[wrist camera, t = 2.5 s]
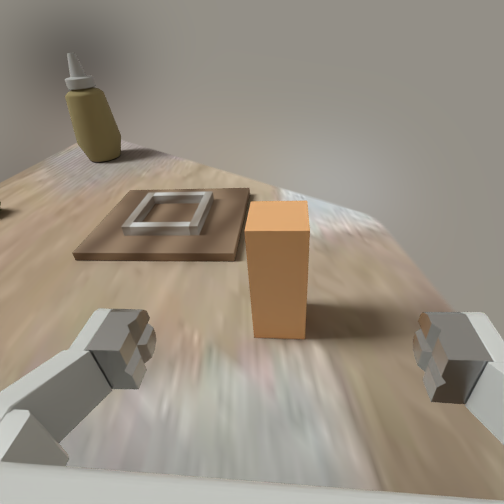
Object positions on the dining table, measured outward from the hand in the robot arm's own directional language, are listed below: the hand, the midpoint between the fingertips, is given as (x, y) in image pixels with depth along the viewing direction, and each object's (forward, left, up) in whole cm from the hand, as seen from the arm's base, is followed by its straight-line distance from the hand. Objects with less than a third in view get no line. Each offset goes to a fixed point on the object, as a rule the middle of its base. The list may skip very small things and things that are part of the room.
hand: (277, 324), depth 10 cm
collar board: (-14, +28, -13) cm, 34 cm away
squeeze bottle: (-36, +54, -13) cm, 67 cm away
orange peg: (0, +12, -13) cm, 18 cm away
